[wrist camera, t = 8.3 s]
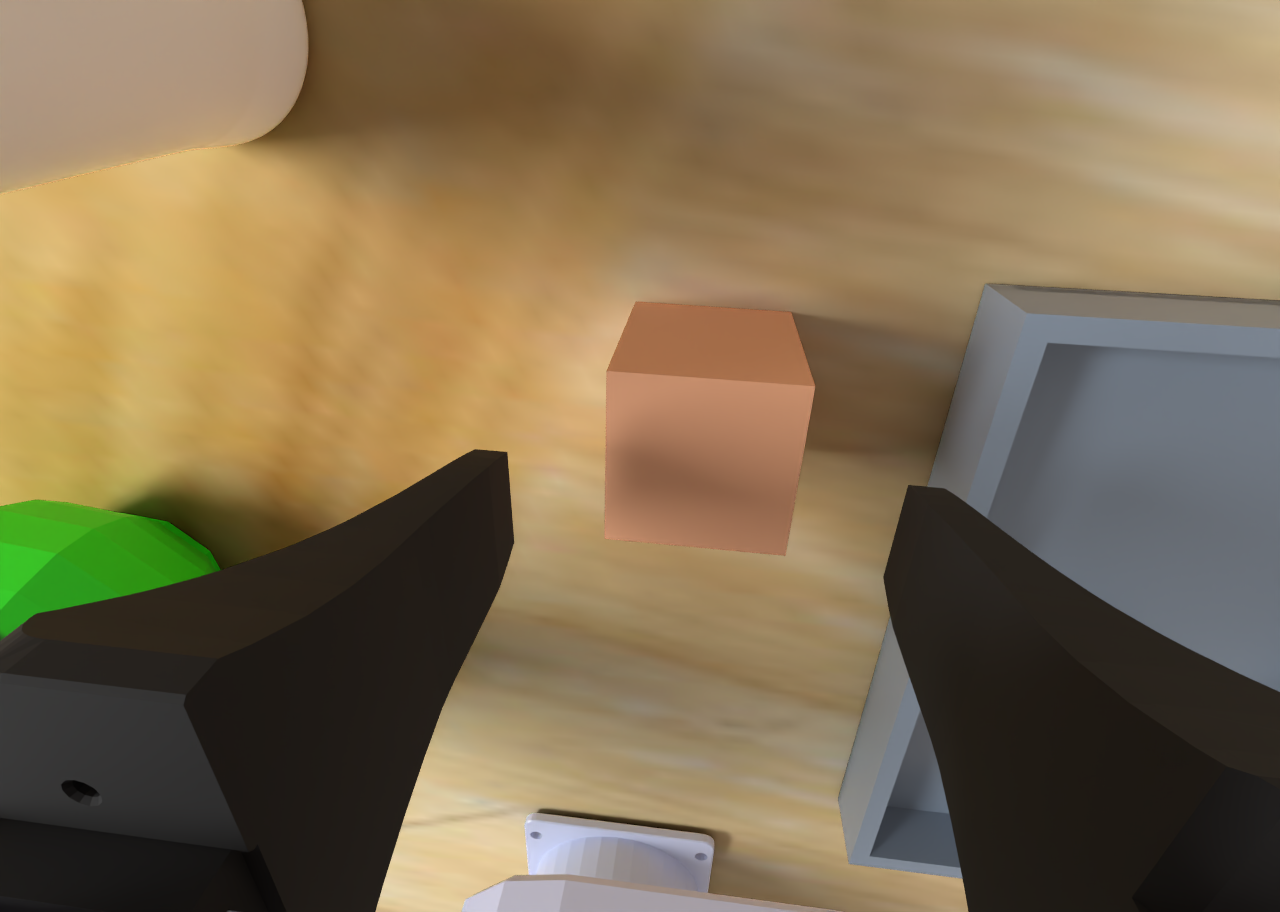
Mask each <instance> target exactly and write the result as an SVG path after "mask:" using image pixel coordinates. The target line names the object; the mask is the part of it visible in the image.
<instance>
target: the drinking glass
mask: <svg viewBox="0 0 1280 912" xmlns="http://www.w3.org/2000/svg"><path fill="white" fill-rule="evenodd" d="M307 63H308V30H307V21H306V16H305V10H304V6H303V2H302V0H0V195H2V194H6V193H11V192H15V191H19V190H23V189H27V188H31V187H35V186H40V185H44V184H48V183H52V182H56V181H60V180H65V179H69V178H73V177H77V176H81V175H85V174H90V173H94V172H98V171H102V170H107V169H111V168H115V167H119V166H124V165H128V164H132V163H137V162H141V161H145V160H150V159H154V158H158V157H163V156H167V155H172V154H176V153H181V152H185V151H190V150H200V149H209V148H219V147H228V146H234V145H239V144H243V143H247V142H250V141H253V140H255V139H257V138H259V137H261V136H263V135H265V134H267V133H268V132H270V131H271V130H273V129H274V128H275V127H276V126H277V125H278V124H280V123H281V122H282V121H283V119H284V118H285V117H286V116H287V115H288V113H289V112H290V110H291V109H292V107H293V106H294V104H295V102H296V100H297V98H298V96H299V94H300V91H301V89H302V86H303V83H304V79H305V75H306V69H307Z"/></svg>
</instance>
